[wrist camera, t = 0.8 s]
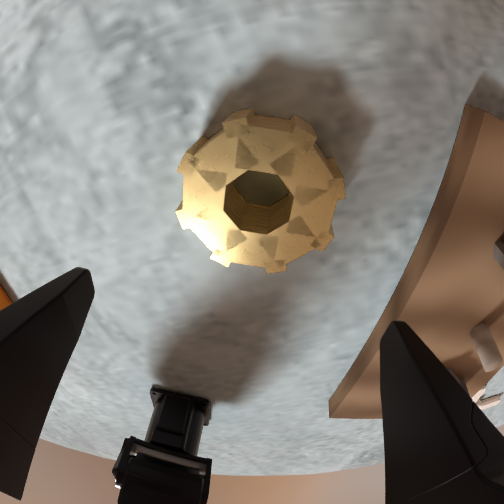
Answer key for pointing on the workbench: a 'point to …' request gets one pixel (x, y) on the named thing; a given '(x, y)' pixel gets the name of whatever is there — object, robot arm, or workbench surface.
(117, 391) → the workbench surface
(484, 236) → the gear board
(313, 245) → the brass gear
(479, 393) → the corner connector
